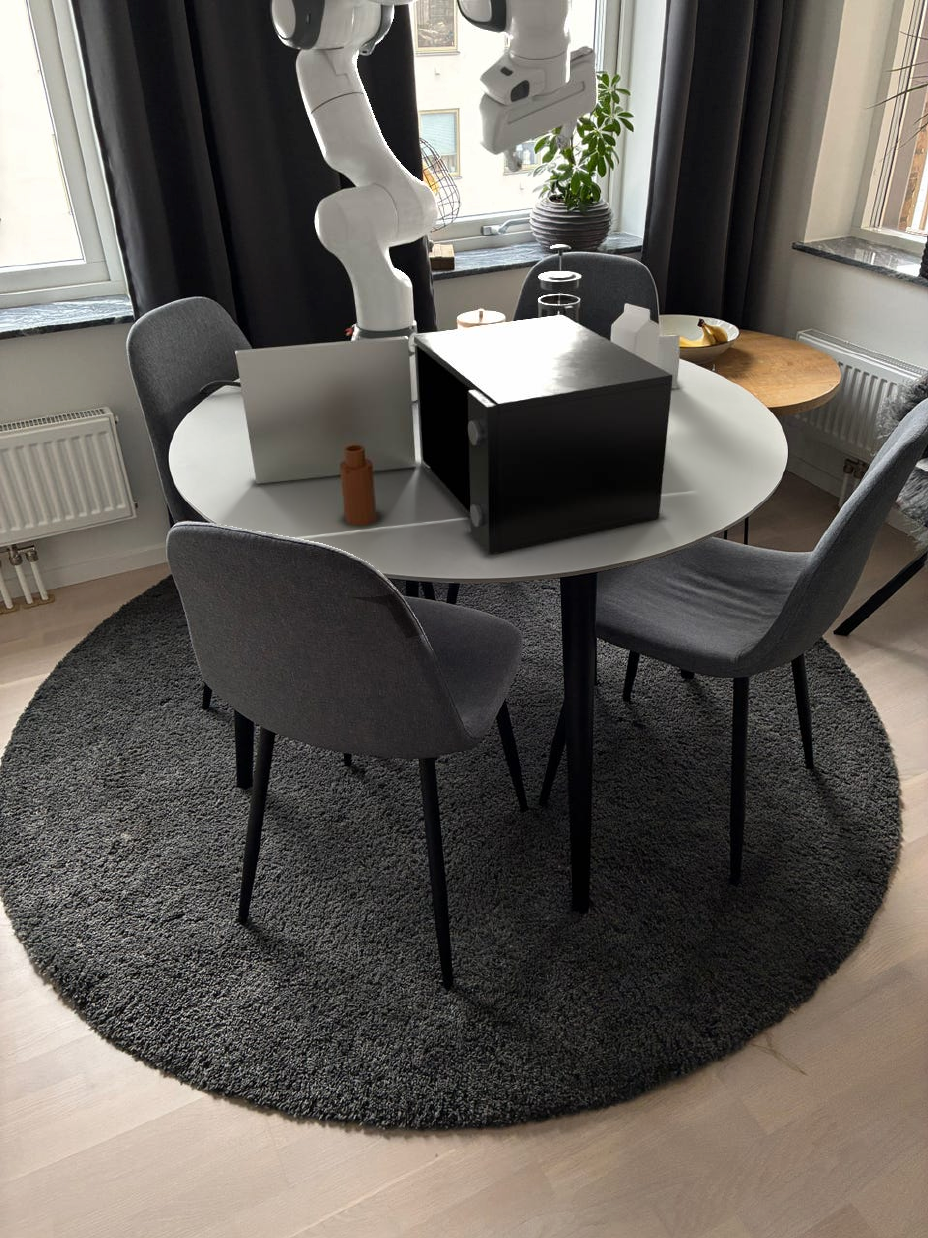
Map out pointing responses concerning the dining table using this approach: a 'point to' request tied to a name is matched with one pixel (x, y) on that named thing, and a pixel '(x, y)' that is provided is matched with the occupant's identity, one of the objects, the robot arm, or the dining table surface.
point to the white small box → (669, 356)
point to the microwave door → (327, 406)
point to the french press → (559, 283)
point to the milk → (637, 333)
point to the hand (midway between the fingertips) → (539, 158)
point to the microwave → (541, 429)
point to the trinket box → (479, 319)
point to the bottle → (358, 486)
